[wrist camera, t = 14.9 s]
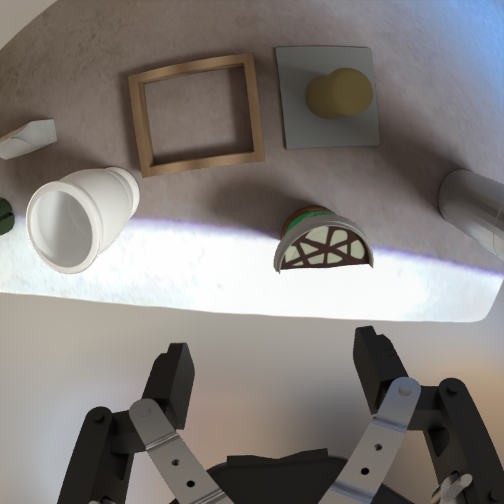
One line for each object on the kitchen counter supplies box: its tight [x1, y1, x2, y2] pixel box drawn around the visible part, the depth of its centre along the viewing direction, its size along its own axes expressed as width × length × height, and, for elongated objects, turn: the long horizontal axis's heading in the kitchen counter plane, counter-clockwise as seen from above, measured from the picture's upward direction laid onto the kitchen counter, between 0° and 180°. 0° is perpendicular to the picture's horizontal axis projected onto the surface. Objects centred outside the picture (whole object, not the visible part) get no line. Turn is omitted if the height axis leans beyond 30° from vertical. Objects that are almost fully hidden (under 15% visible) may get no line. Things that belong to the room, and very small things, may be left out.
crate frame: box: [128, 53, 265, 178], centre depth 36 cm, size 16×14×2 cm
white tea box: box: [0, 119, 57, 160], centre depth 33 cm, size 4×7×10 cm, turn 98°
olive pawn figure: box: [305, 67, 373, 119], centre depth 30 cm, size 6×6×11 cm
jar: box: [26, 167, 139, 274], centre depth 34 cm, size 11×10×15 cm
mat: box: [275, 46, 380, 149], centre depth 36 cm, size 13×14×1 cm
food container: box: [274, 206, 374, 274], centre depth 38 cm, size 12×6×10 cm, turn 94°
